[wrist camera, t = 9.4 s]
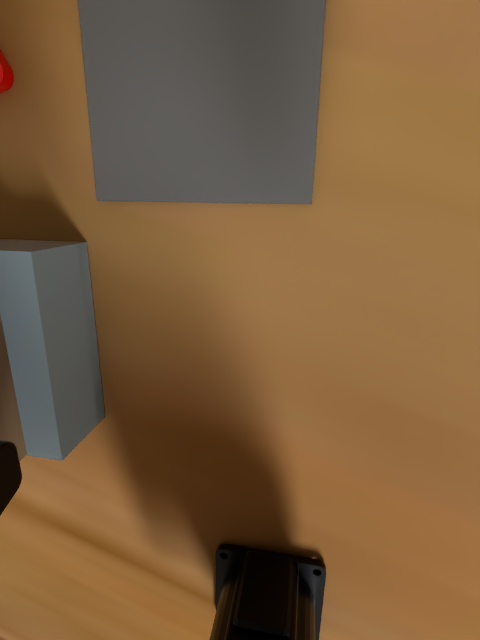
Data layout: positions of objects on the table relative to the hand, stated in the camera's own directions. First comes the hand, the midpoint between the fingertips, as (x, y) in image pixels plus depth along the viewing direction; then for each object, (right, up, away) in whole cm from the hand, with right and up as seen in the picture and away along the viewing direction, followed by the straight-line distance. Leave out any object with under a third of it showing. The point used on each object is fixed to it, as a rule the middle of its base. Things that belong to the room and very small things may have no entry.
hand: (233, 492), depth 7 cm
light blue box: (-13, +3, +14) cm, 19 cm away
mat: (-2, +13, +9) cm, 16 cm away
